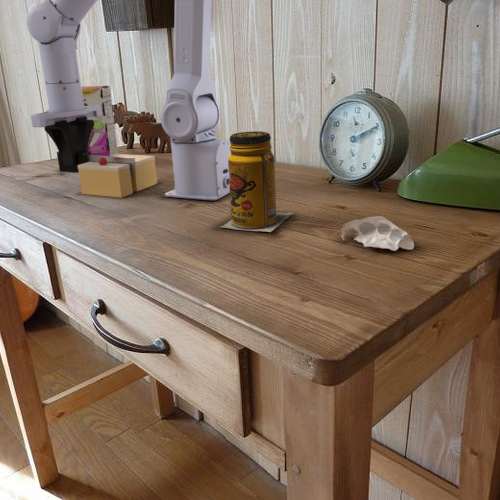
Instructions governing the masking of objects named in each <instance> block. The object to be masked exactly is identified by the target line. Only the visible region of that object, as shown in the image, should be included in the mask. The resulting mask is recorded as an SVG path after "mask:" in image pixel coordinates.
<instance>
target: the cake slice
mask: <svg viewBox="0 0 500 500" xmlns="http://www.w3.org/2000/svg"><path fill="white" fill-rule="evenodd" d="M78 171H79V173H78V177H79V183H80V184H79V185H80V189H81V194H82V195H88V196H99V197H111V198H119V199H122V198H125V197H127V196H130V195H132V194H133V193H134V191H132V182H131V174H130V166H129V164H118V163H107V159H106V158H104V157H102V158H100V159H99V162H87V163H84V164H80V165H78Z"/></svg>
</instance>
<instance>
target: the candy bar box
mask: <svg viewBox="0 0 500 500" xmlns="http://www.w3.org/2000/svg"><path fill="white" fill-rule="evenodd" d="M81 87H82V94H83V101H84V106H90V105H100V111H101V116H98V117H90V118H87V120H94V127H93V129H92V131H91V134H90V137H89V142H88V148H87V151H91V155H97V156H111V155H114V154H119V149H118V141H117V134H116V126H115V117H114V109H113V99H112V92H111V86H110V85H108V84H107V85H81ZM63 88H64V87H63ZM71 117H77V116H69V117H64V119H66V118H71ZM57 120H60V119H57ZM58 151H59V150H58V149H57V152H58Z"/></svg>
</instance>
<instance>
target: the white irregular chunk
mask: <svg viewBox="0 0 500 500" xmlns="http://www.w3.org/2000/svg"><path fill="white" fill-rule="evenodd" d="M355 234H357V235H356V236H355V237H354V238H353V241H356V242H358V243H362V244H363V247H372V248H380V249H387V250H388V249H389V250H391V251H392V252H393V251H394V252H396V251H397V250H398V249H399V248H401V249H403V250H409V251H410V250H414V248H415V242H414V241H413V239H412V238H411V236H410V234H409V233H408V232H407V231H406V230H403V229H402V228H401V227H398V226H397V225H396V224H394V222H391V221H390V220H388V219H387V218H386V217H385V216H382V215H374V216H369V217H363V218H361V219H353V220H350V221H348V222H346V223H344V224H343V225H342V226H341V229H340V235H341V236H340V237H341V240H342V241H345V236H352V235H355Z"/></svg>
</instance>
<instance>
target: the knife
mask: <svg viewBox="0 0 500 500" xmlns="http://www.w3.org/2000/svg"><path fill="white" fill-rule="evenodd" d="M56 156H57V163H58V169H59V172H61V173H75V174H76V173H77V174H79V171H78V165H80V164H84V163H87V162H99V159H100V158H102V157H104V158H106V159H107V163H118V164H129V166H130V174H131V175H133V176H136V175H137V172H136V163H135V158H133V157H115V156H97V155H91V151H76V165H65V164H64V162H63V159H62V157H61V155H60V152H59V151H58V150H57V151H56Z"/></svg>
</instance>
